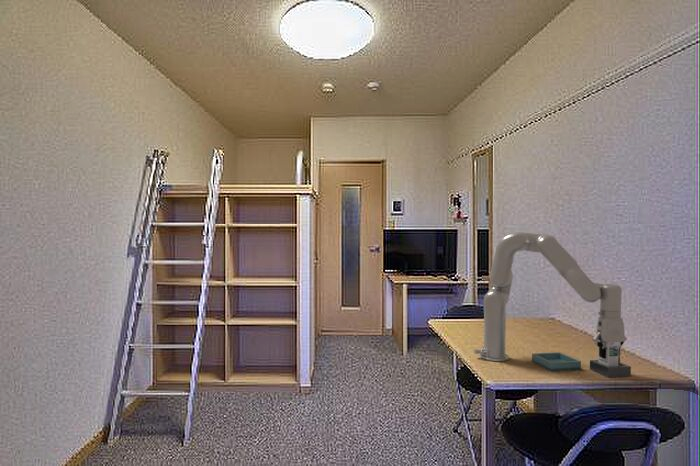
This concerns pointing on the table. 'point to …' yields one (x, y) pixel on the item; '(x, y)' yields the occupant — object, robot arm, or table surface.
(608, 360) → the syrup box
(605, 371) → the holder
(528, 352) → the table surface
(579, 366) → the tray
